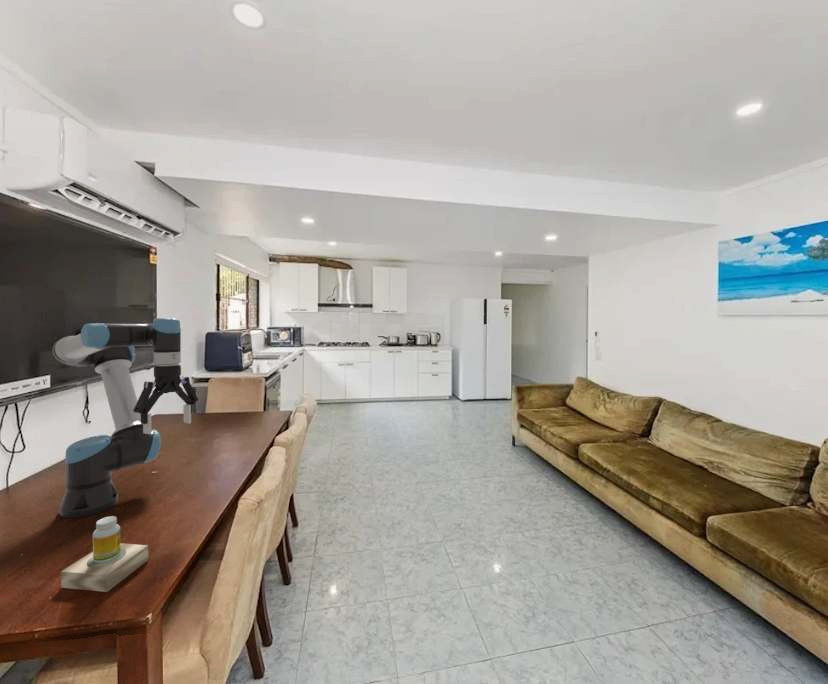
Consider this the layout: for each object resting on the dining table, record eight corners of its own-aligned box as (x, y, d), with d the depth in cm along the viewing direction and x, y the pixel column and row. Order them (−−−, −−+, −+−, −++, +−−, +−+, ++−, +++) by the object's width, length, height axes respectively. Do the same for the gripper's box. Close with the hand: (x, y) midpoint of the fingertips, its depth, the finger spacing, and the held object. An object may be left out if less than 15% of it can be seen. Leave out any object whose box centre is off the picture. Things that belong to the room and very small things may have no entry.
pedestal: (61, 587, 88) (60, 570, 88) (107, 556, 100) (107, 541, 100) (106, 591, 87) (106, 574, 87) (148, 559, 99) (148, 544, 99)
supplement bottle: (91, 556, 93) (91, 519, 93) (118, 547, 97) (118, 512, 97) (94, 566, 89) (93, 528, 89) (122, 556, 93) (121, 520, 93)
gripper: (135, 369, 109) (136, 439, 110) (208, 362, 132) (209, 420, 133) (118, 367, 111) (120, 436, 112) (193, 361, 135) (194, 418, 136)
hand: (168, 428), depth 123 cm, fingers open, 13 cm apart
